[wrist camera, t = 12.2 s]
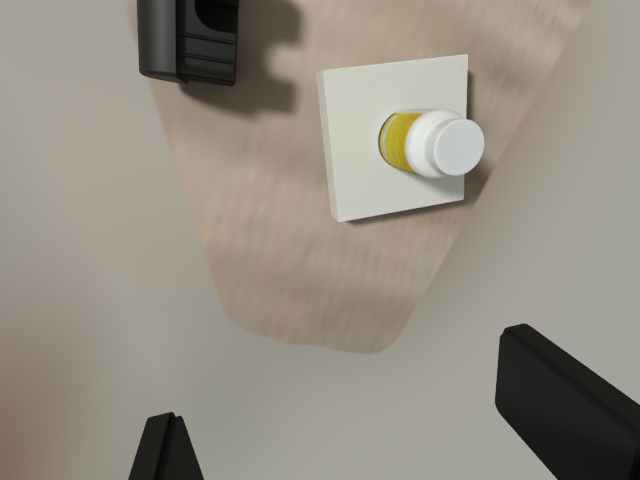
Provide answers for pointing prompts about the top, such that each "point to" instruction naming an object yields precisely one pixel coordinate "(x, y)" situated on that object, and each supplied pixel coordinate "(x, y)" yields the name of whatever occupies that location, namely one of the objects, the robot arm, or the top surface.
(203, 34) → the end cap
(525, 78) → the top surface
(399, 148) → the supplement bottle
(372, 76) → the base plate
